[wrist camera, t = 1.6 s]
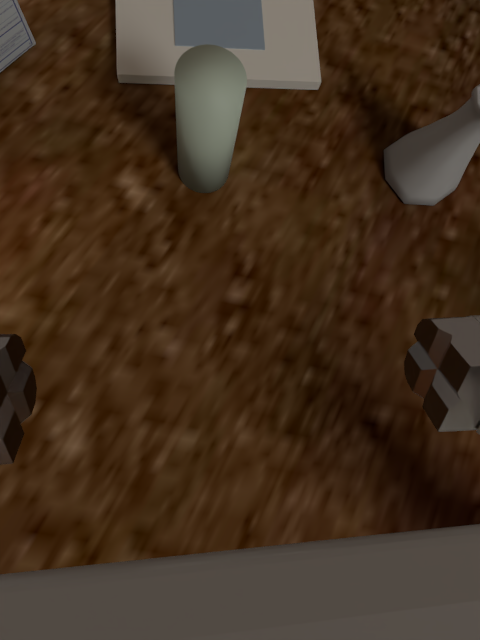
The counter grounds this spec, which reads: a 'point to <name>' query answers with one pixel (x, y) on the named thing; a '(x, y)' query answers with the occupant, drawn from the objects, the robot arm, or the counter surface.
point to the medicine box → (13, 33)
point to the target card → (219, 39)
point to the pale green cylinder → (207, 114)
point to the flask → (434, 155)
